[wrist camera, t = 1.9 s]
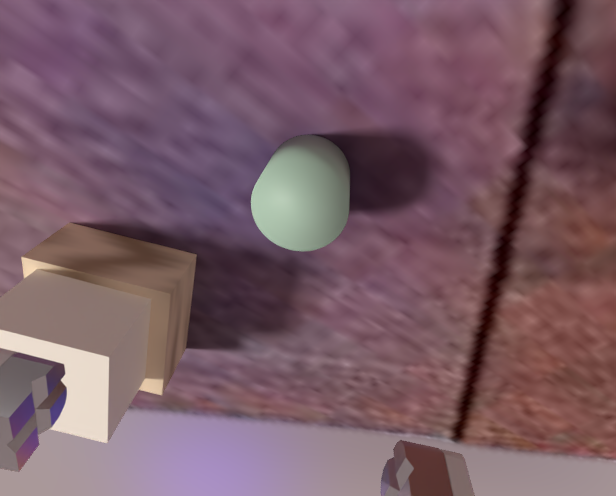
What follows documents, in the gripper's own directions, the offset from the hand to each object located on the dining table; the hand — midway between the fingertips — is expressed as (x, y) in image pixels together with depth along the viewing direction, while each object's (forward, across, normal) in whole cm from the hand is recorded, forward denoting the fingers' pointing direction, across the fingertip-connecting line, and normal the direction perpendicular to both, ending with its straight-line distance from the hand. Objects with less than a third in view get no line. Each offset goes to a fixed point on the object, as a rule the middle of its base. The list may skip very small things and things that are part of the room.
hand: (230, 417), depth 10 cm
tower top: (+13, +11, +12) cm, 21 cm away
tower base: (+18, +10, +12) cm, 24 cm away
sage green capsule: (+18, 0, 0) cm, 18 cm away
